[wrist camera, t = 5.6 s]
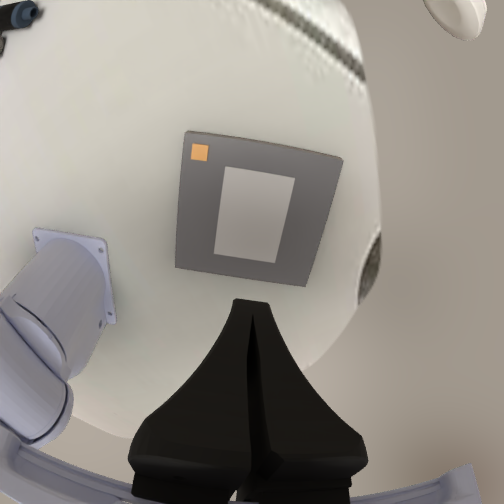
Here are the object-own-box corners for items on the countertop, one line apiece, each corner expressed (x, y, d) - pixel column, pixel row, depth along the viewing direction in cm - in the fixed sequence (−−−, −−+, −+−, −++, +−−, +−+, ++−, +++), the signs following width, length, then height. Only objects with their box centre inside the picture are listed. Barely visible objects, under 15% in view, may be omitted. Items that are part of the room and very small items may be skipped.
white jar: (404, -16, 12) (441, -34, 7) (431, -25, 11) (468, -41, 6) (444, 43, 14) (487, 41, 9) (467, 31, 13) (510, 29, 8)
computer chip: (304, 280, 24) (305, 288, 23) (177, 261, 23) (174, 269, 22) (340, 157, 19) (344, 161, 18) (187, 130, 18) (184, 133, 17)
